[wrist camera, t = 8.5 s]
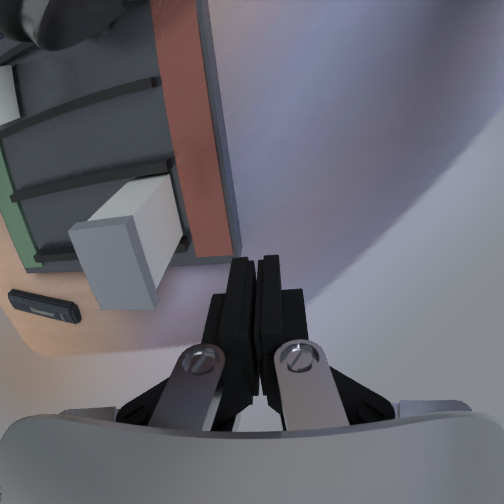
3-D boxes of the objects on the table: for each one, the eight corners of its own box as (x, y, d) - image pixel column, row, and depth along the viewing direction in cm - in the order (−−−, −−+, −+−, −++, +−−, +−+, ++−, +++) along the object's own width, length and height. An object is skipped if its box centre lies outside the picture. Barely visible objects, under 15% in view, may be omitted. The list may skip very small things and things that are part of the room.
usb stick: (18, 303, 29) (12, 312, 28) (11, 284, 28) (4, 293, 26) (84, 318, 29) (78, 329, 28) (78, 298, 28) (71, 309, 26)
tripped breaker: (172, 169, 18) (124, 223, 12) (187, 236, 20) (154, 310, 14) (126, 177, 18) (67, 231, 12) (144, 240, 20) (101, 309, 15)
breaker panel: (203, -33, 13) (191, -48, 10) (242, 246, 23) (238, 271, 20) (-18, 62, 15) (-43, 67, 13) (38, 260, 25) (21, 280, 22)
